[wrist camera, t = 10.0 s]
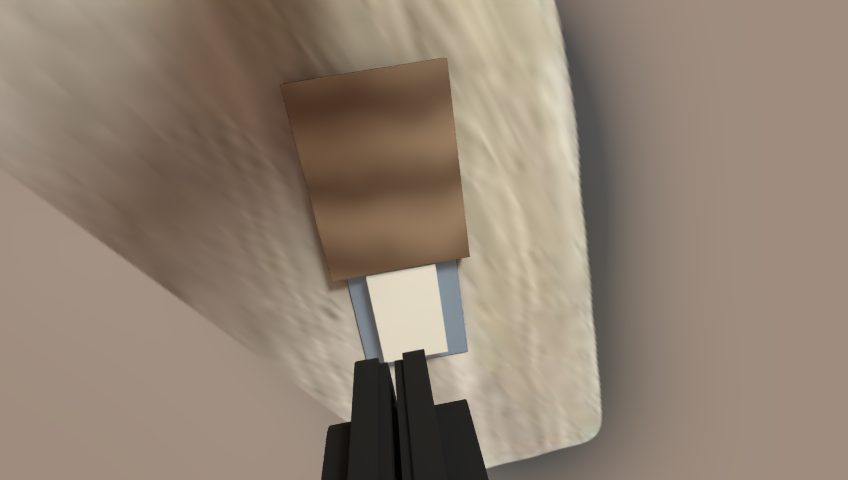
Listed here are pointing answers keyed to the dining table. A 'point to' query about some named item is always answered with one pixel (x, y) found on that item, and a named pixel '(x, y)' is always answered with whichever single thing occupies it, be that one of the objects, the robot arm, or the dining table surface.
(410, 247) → the plate
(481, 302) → the dining table surface
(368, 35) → the dining table surface
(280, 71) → the dining table surface
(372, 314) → the mat
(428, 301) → the cream rectangular block
